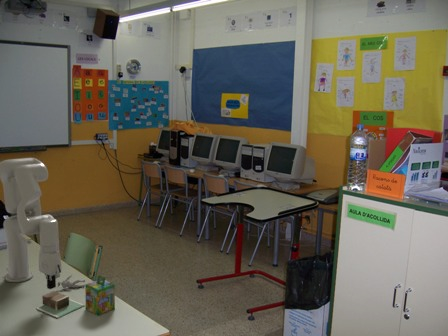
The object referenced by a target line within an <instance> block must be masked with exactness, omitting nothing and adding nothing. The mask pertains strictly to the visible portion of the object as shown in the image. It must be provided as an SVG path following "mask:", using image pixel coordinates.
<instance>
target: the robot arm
mask: <svg viewBox="0 0 448 336" xmlns="http://www.w3.org/2000/svg"><path fill="white" fill-rule="evenodd" d="M48 178H49V171H48V168H47V166H46V165H45V164H44V163H43V162H42V161H40V160H39V159H37V158H35V157H23V158H12V159H11V158H10V159H5V160H2V161H0V181H1V183H2V187H3V198H4V205H5V206H4V207H5V210H6V212H7V213H8V214H16V215H12V216H9V217H7V218H5V220H4V221H3V224H2V225H3V229H4V234H5V239H6V240H5V241H6V249H7V252H6V253H7V265H8V266H7V268H5V270H6V271H7V273H8V274H6V275H5V281H6V282H10V283H21V282H26V281H28V280H31V279H32V278H33V277H34V273H33V271H31V270H30V260H29V259H30V258H29V257H30V254H29V242H28V240H27V239H26V238H25V237H24V236H23V235H26V236H31V235H36V234H39V245H40V246H39V247H40V250H39V254H38V271H39V272H40V273H42V274H44V275H45V279H46V285H47V289H48V290H52V289H55V288H56V287H57V284H56V282H57V281H56V279H57V278H60V277H61V273H62V258H61V253H60V240H59V222H58V219H56V218H54V216H53V215H51V214H48V213H47V214H42V207H41V200H40V198H41V197H42V191H41V187H40V185H39V183H40V182H45V181H47V180H48ZM26 212H28V213H26Z"/></svg>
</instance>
